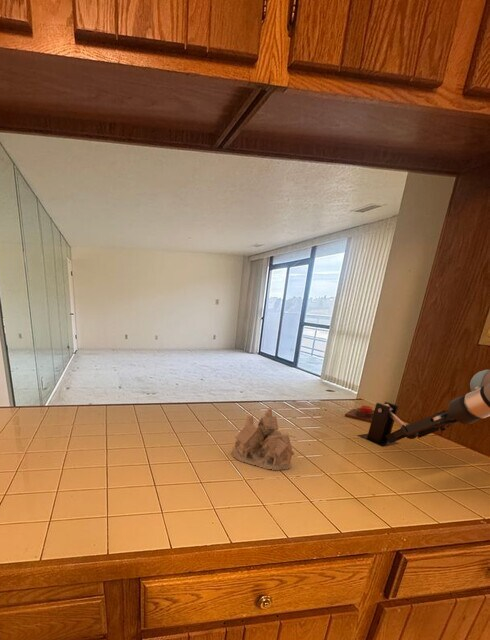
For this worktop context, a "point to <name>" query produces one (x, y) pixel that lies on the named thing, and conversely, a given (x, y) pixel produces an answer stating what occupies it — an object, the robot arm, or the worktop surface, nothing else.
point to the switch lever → (400, 422)
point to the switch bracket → (381, 425)
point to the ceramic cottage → (263, 444)
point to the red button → (366, 409)
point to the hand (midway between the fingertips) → (402, 436)
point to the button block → (360, 415)
